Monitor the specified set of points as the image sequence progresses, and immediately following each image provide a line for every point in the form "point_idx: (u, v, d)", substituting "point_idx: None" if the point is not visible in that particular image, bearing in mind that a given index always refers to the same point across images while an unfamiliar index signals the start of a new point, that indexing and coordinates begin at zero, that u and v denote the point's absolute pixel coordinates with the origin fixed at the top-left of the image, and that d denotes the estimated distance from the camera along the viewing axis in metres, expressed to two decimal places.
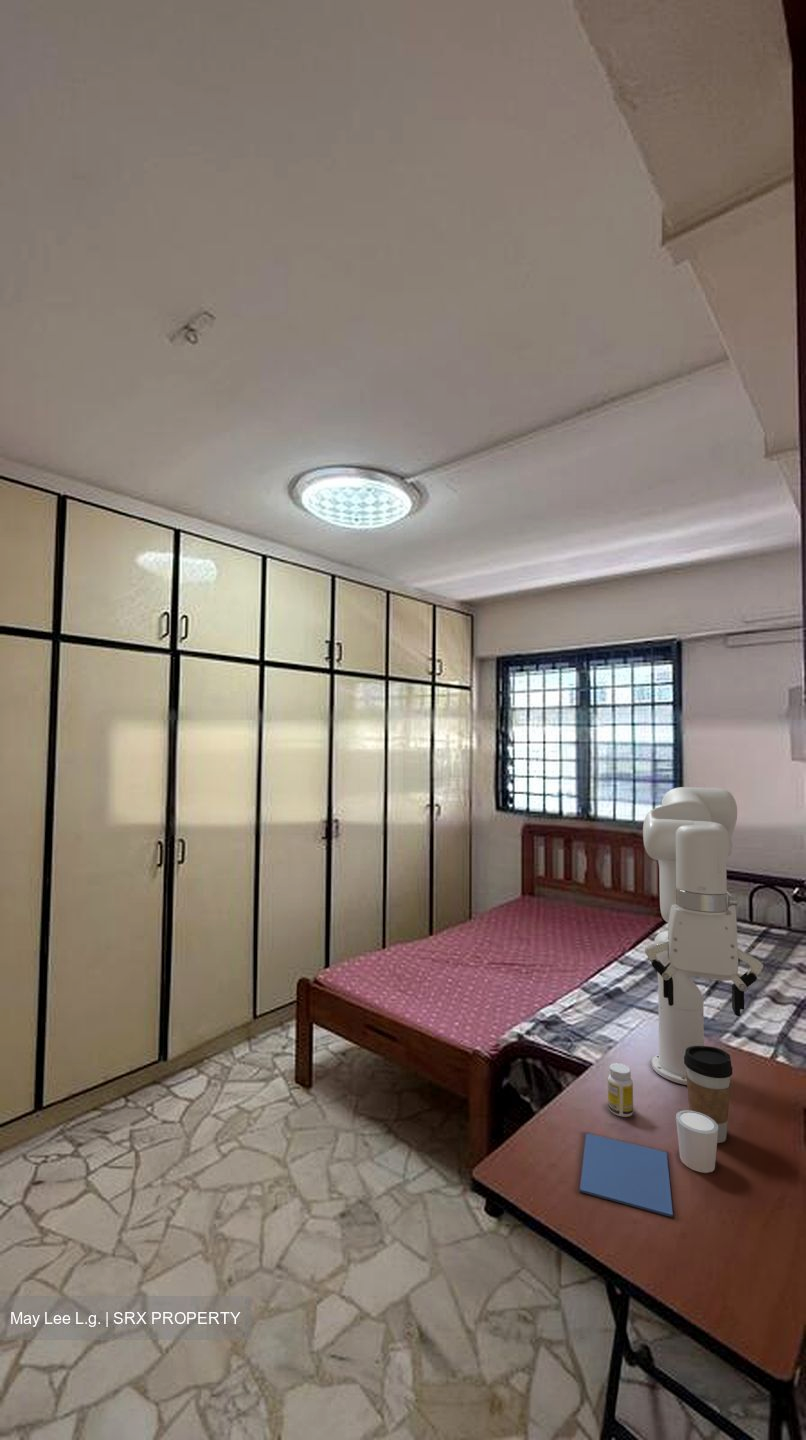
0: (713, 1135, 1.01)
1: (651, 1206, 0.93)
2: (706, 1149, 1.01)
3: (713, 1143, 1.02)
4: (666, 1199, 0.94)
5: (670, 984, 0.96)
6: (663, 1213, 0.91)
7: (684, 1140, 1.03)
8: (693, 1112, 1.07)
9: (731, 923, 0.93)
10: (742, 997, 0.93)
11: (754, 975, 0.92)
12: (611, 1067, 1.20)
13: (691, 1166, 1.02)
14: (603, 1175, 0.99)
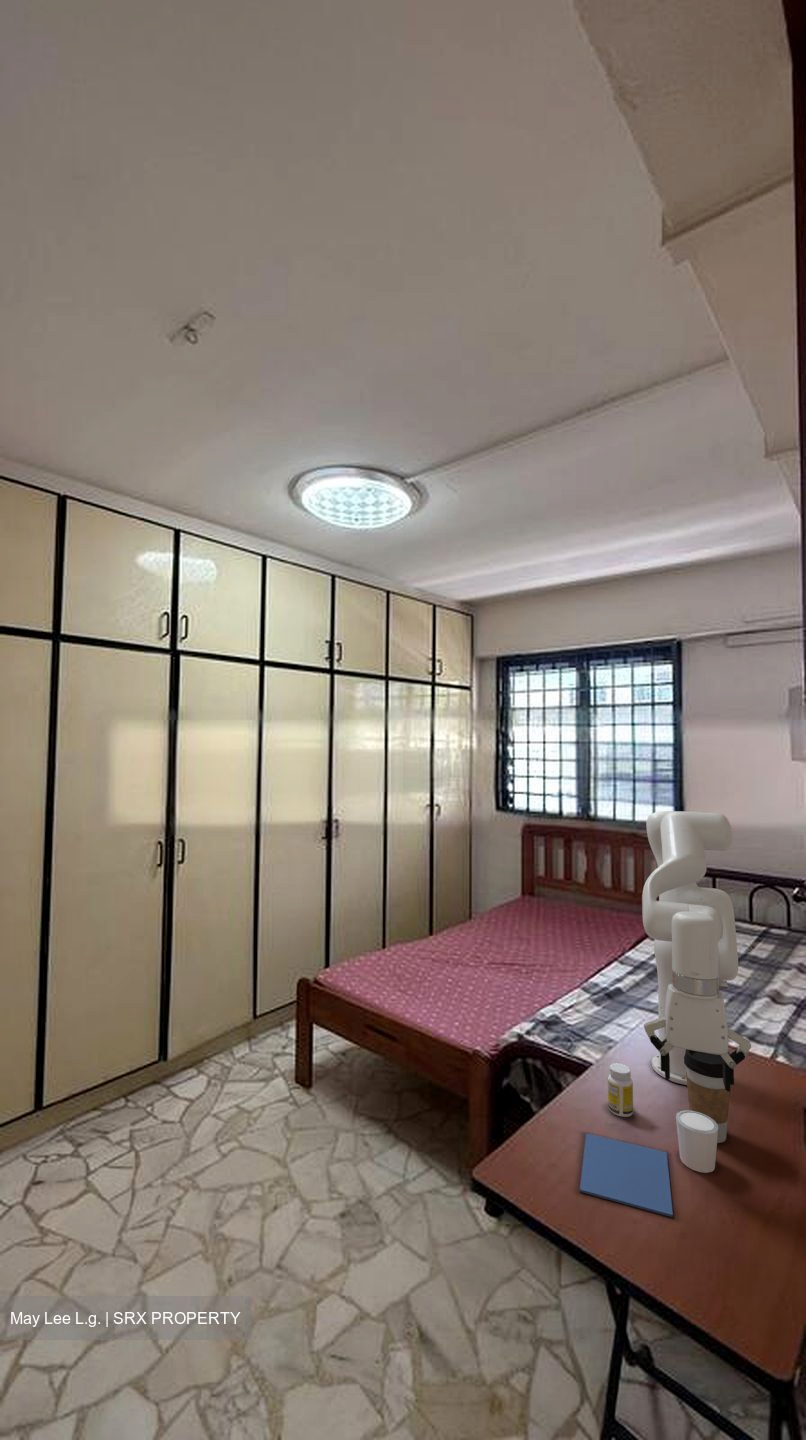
0: (713, 1135, 1.01)
1: (651, 1206, 0.93)
2: (706, 1149, 1.01)
3: (713, 1143, 1.02)
4: (666, 1199, 0.94)
5: (667, 1059, 1.05)
6: (663, 1213, 0.91)
7: (684, 1140, 1.03)
8: (693, 1112, 1.07)
9: (722, 1006, 1.03)
10: (732, 1074, 1.02)
11: (743, 1054, 1.02)
12: (611, 1067, 1.20)
13: (691, 1166, 1.02)
14: (603, 1175, 0.99)
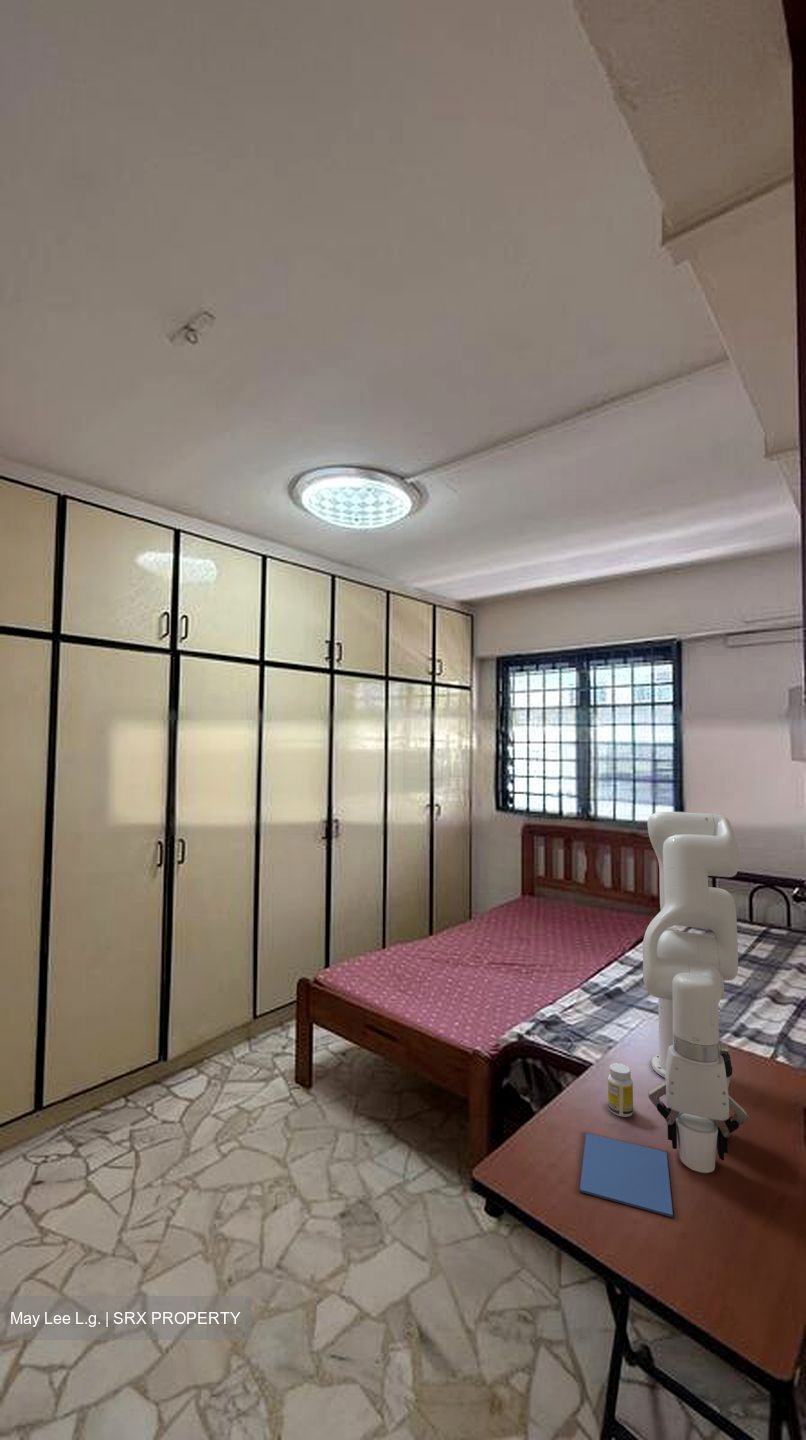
0: (713, 1135, 1.01)
1: (651, 1206, 0.93)
2: (706, 1149, 1.01)
3: (713, 1143, 1.02)
4: (666, 1199, 0.94)
5: (674, 1129, 1.04)
6: (663, 1213, 0.91)
7: (684, 1140, 1.03)
8: None
9: (723, 1071, 1.02)
10: (726, 1142, 1.02)
11: (737, 1123, 1.02)
12: (611, 1067, 1.20)
13: (691, 1166, 1.02)
14: (603, 1175, 0.99)
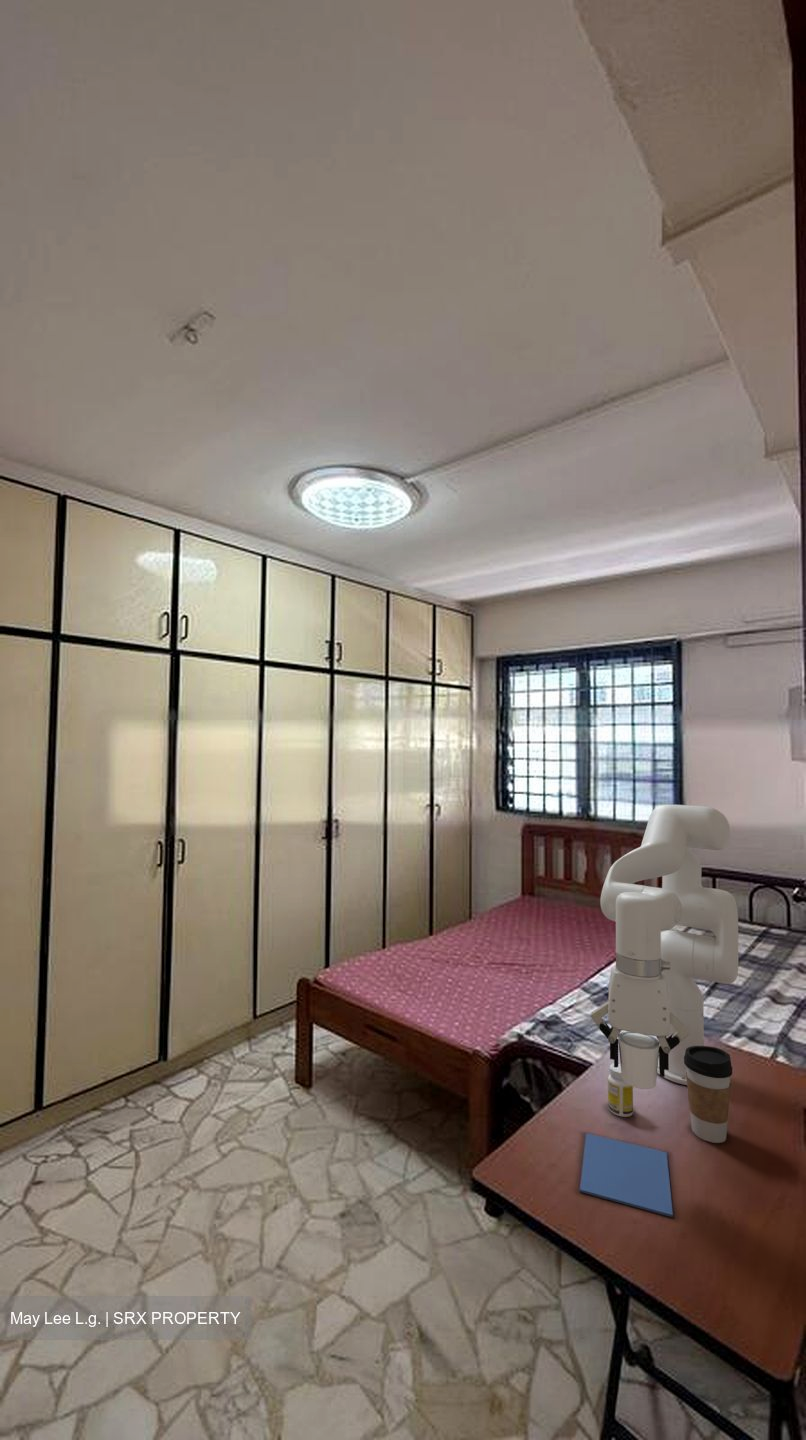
0: (654, 1051, 1.00)
1: (651, 1206, 0.93)
2: (646, 1065, 1.00)
3: (653, 1059, 1.00)
4: (666, 1199, 0.94)
5: (615, 1047, 1.03)
6: (663, 1213, 0.91)
7: (625, 1057, 1.02)
8: None
9: (664, 987, 1.01)
10: (667, 1059, 1.01)
11: (678, 1039, 1.00)
12: (611, 1067, 1.20)
13: (631, 1083, 1.01)
14: (603, 1175, 0.99)
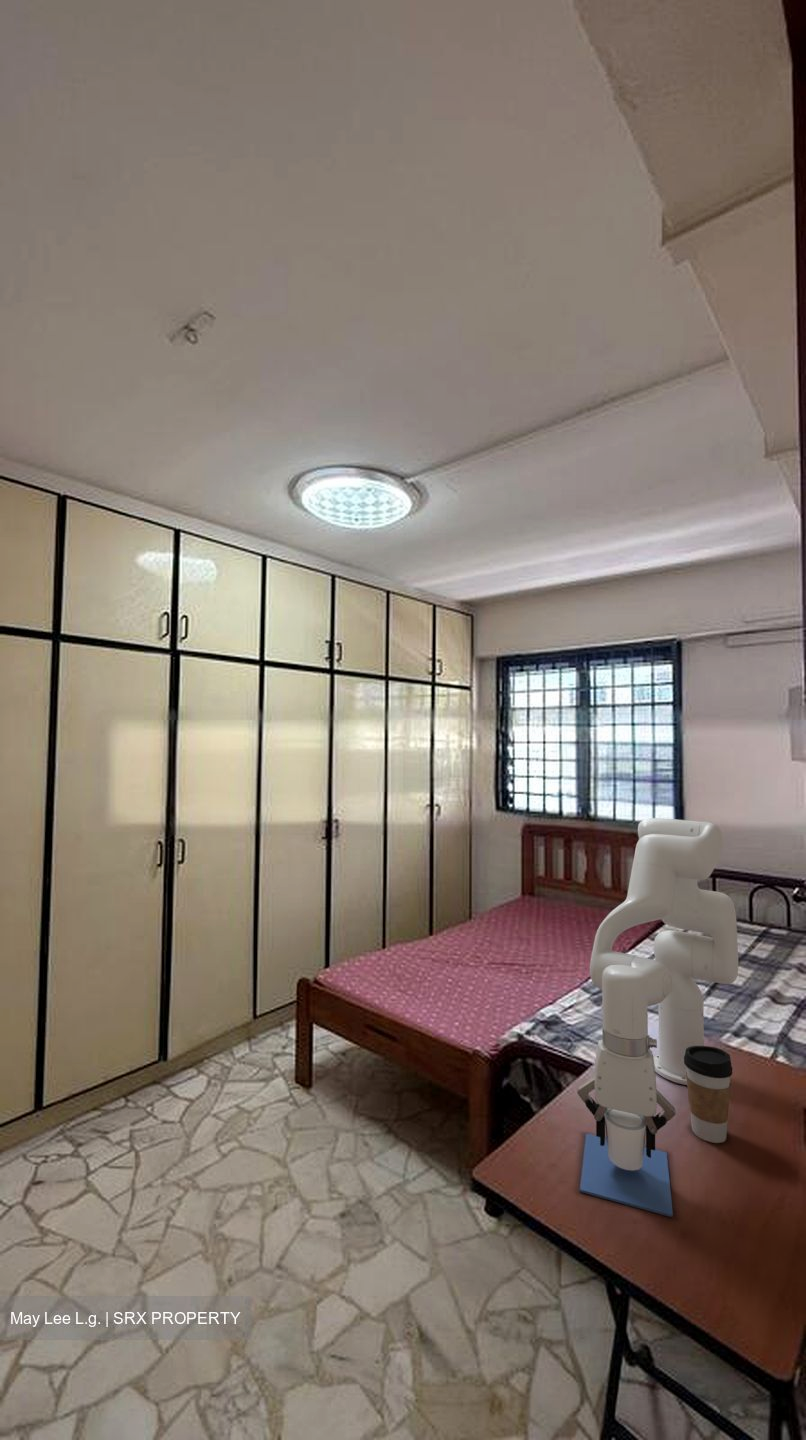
0: (640, 1132, 0.99)
1: (651, 1206, 0.93)
2: (632, 1146, 0.98)
3: (640, 1140, 0.99)
4: (666, 1199, 0.94)
5: (601, 1125, 1.01)
6: (663, 1213, 0.91)
7: (611, 1137, 1.00)
8: None
9: (650, 1066, 0.99)
10: (653, 1139, 0.99)
11: (665, 1119, 0.99)
12: None
13: (617, 1164, 0.99)
14: (603, 1175, 0.99)
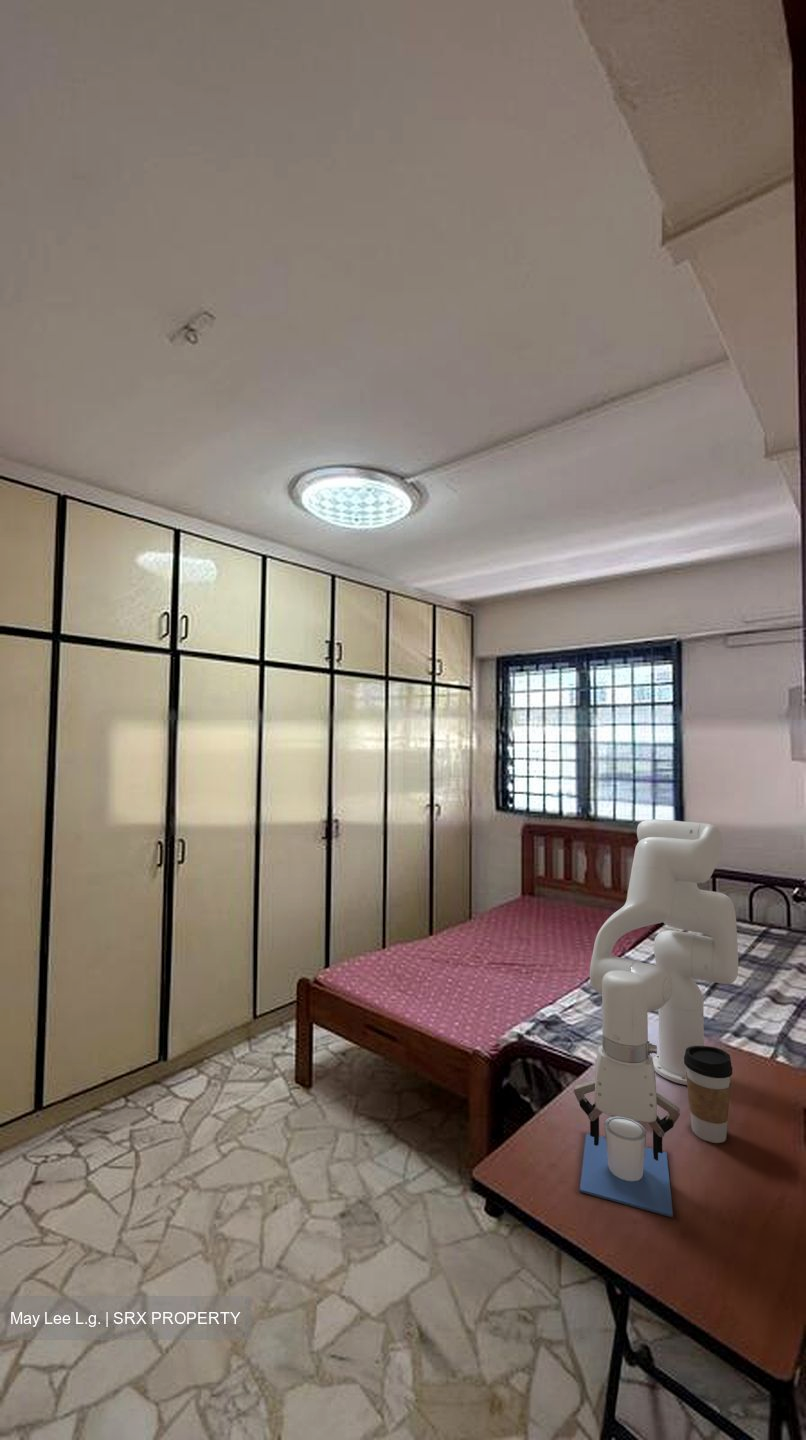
0: (640, 1143, 0.98)
1: (651, 1206, 0.93)
2: (632, 1157, 0.98)
3: (640, 1150, 0.98)
4: (666, 1199, 0.94)
5: (595, 1125, 1.02)
6: (663, 1213, 0.91)
7: (611, 1147, 1.00)
8: (623, 1118, 1.04)
9: (650, 1072, 0.99)
10: (660, 1142, 0.99)
11: (671, 1122, 0.98)
12: None
13: (618, 1174, 0.99)
14: (603, 1175, 0.99)
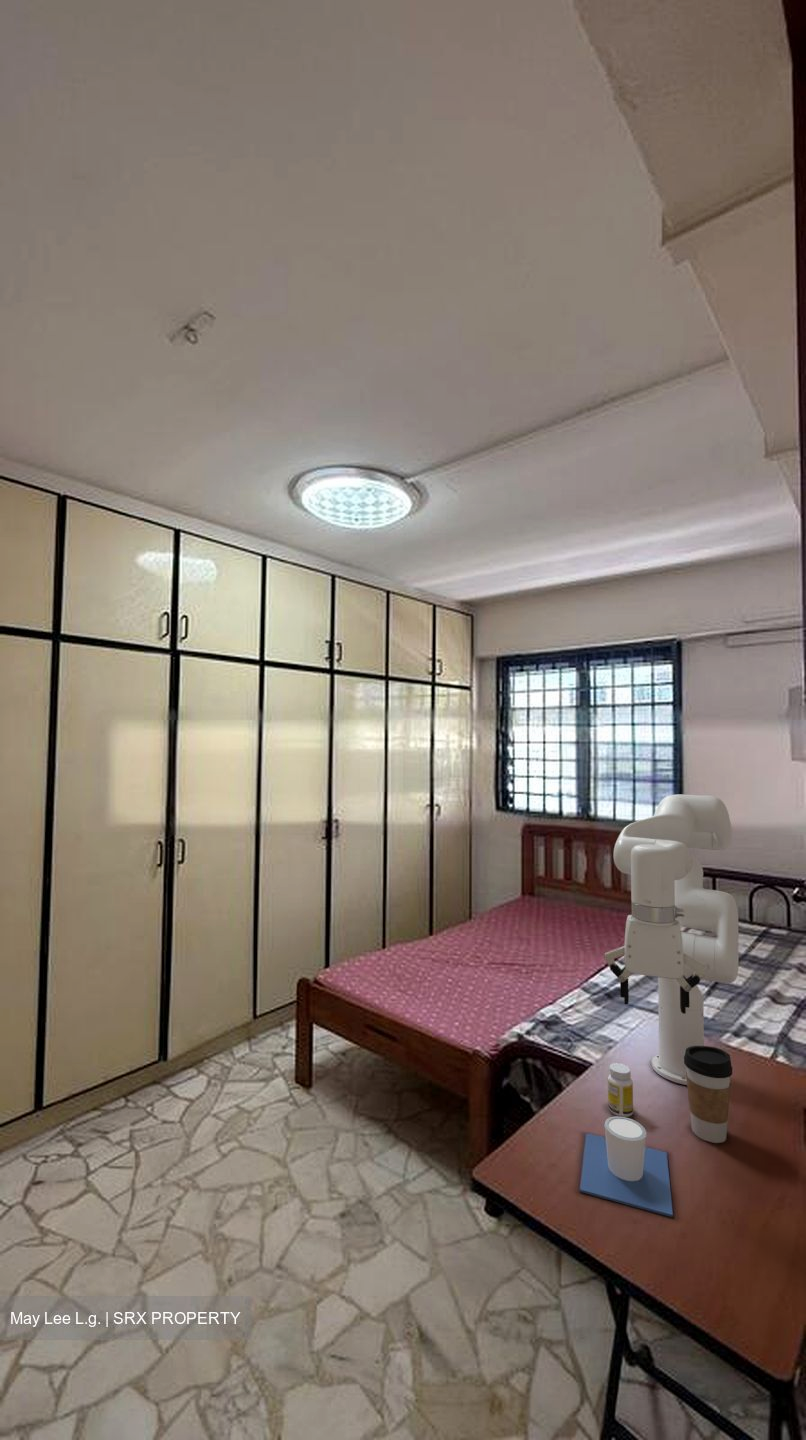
0: (640, 1143, 0.98)
1: (651, 1206, 0.93)
2: (632, 1157, 0.98)
3: (640, 1150, 0.98)
4: (666, 1199, 0.94)
5: (625, 985, 1.08)
6: (663, 1213, 0.91)
7: (611, 1147, 1.00)
8: (623, 1118, 1.04)
9: (678, 932, 1.05)
10: (687, 997, 1.05)
11: (698, 977, 1.05)
12: (611, 1067, 1.20)
13: (618, 1174, 0.99)
14: (603, 1175, 0.99)
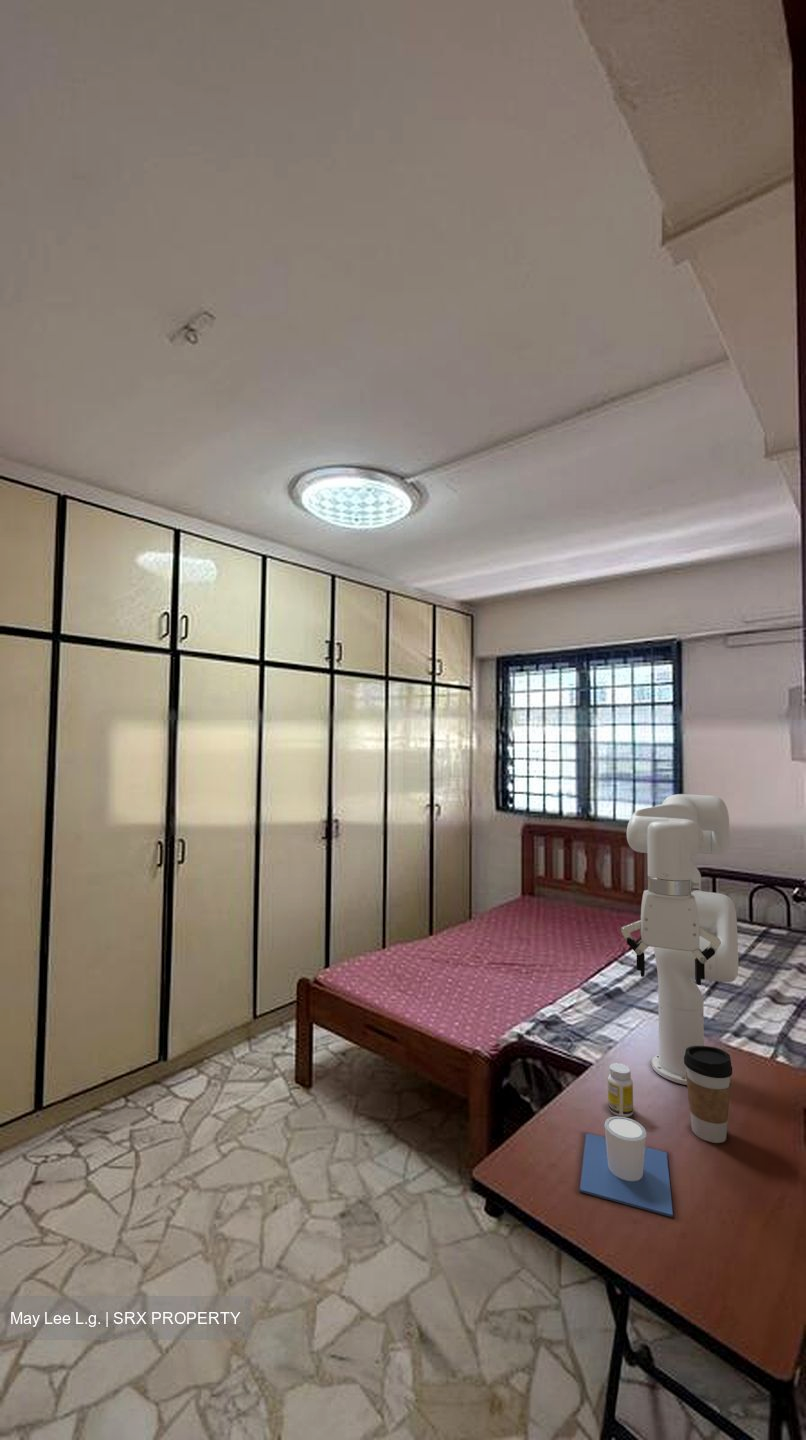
0: (640, 1143, 0.98)
1: (651, 1206, 0.93)
2: (632, 1157, 0.98)
3: (640, 1150, 0.98)
4: (666, 1199, 0.94)
5: (642, 958, 1.11)
6: (663, 1213, 0.91)
7: (611, 1147, 1.00)
8: (623, 1118, 1.04)
9: (693, 905, 1.08)
10: (703, 969, 1.08)
11: (713, 950, 1.08)
12: (611, 1067, 1.20)
13: (618, 1174, 0.99)
14: (603, 1175, 0.99)
